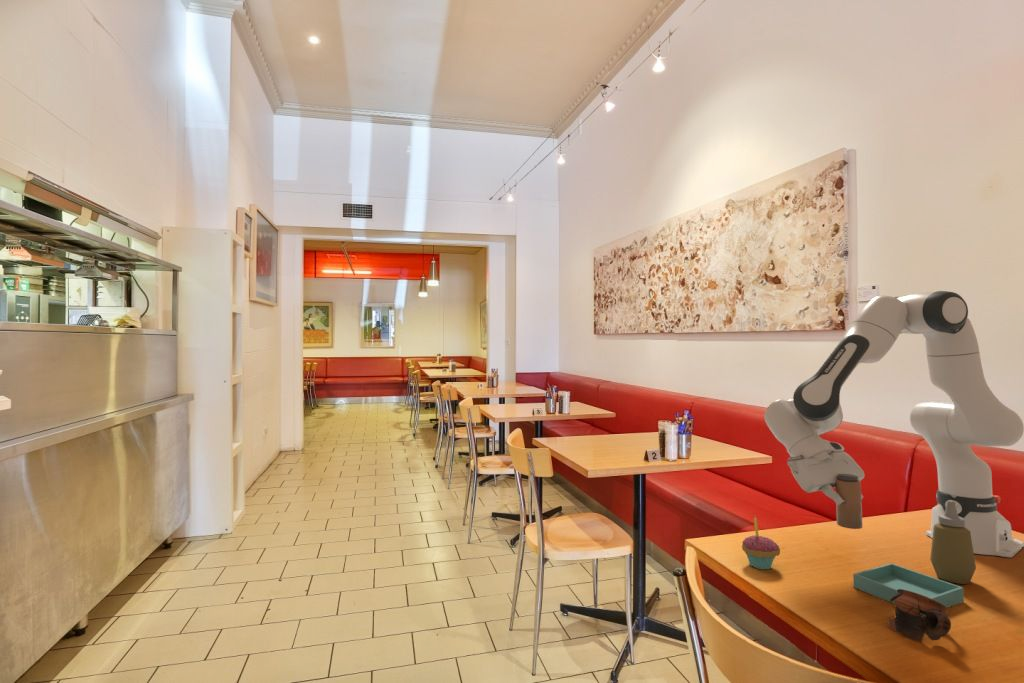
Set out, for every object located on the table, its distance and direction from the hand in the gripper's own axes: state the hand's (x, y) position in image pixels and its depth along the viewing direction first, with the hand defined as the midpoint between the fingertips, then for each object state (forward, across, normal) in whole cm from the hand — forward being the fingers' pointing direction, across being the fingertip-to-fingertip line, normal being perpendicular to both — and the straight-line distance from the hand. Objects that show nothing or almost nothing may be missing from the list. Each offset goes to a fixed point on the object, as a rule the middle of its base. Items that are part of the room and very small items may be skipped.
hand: (851, 501), depth 122 cm
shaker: (+4, 0, +5) cm, 6 cm away
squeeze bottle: (+21, +16, +4) cm, 27 cm away
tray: (+21, -2, +3) cm, 21 cm away
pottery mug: (+28, -16, -4) cm, 33 cm away
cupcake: (+4, -18, +20) cm, 27 cm away
